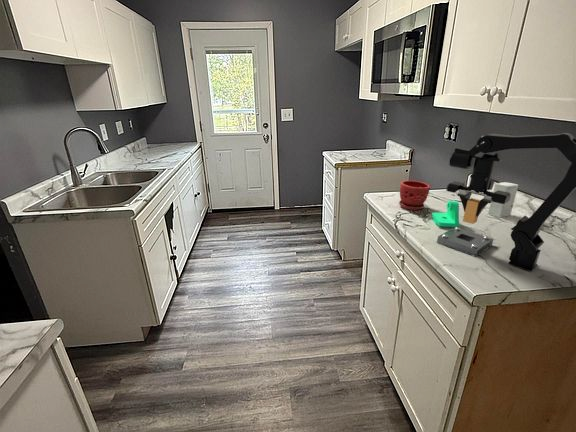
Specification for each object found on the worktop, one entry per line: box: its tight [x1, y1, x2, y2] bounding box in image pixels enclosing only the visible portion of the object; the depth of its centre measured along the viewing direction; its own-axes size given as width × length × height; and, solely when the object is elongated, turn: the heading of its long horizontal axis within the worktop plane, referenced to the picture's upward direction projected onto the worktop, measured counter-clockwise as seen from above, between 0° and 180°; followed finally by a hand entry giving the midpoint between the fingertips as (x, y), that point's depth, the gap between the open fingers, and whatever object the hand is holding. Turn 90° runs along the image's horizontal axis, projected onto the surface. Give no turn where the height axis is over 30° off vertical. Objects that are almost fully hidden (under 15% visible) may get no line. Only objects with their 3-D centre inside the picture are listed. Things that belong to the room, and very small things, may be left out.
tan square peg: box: [462, 197, 481, 225], centre depth 111 cm, size 4×4×8 cm
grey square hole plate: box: [436, 226, 494, 257], centre depth 117 cm, size 14×14×3 cm
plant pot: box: [398, 180, 431, 211], centre depth 152 cm, size 13×13×12 cm
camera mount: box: [431, 200, 460, 228], centre depth 134 cm, size 12×8×10 cm, turn 171°
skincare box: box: [487, 181, 519, 219], centre depth 142 cm, size 8×6×15 cm
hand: (471, 214), depth 112 cm, fingers closed on tan square peg, 3 cm apart
